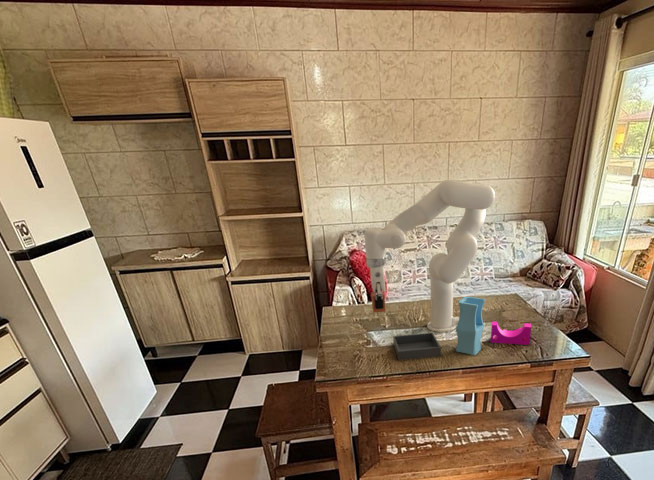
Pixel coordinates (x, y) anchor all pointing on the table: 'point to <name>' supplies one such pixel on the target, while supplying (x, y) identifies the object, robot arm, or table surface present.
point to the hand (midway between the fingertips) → (378, 305)
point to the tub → (416, 346)
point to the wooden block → (374, 303)
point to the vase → (470, 325)
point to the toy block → (511, 335)
